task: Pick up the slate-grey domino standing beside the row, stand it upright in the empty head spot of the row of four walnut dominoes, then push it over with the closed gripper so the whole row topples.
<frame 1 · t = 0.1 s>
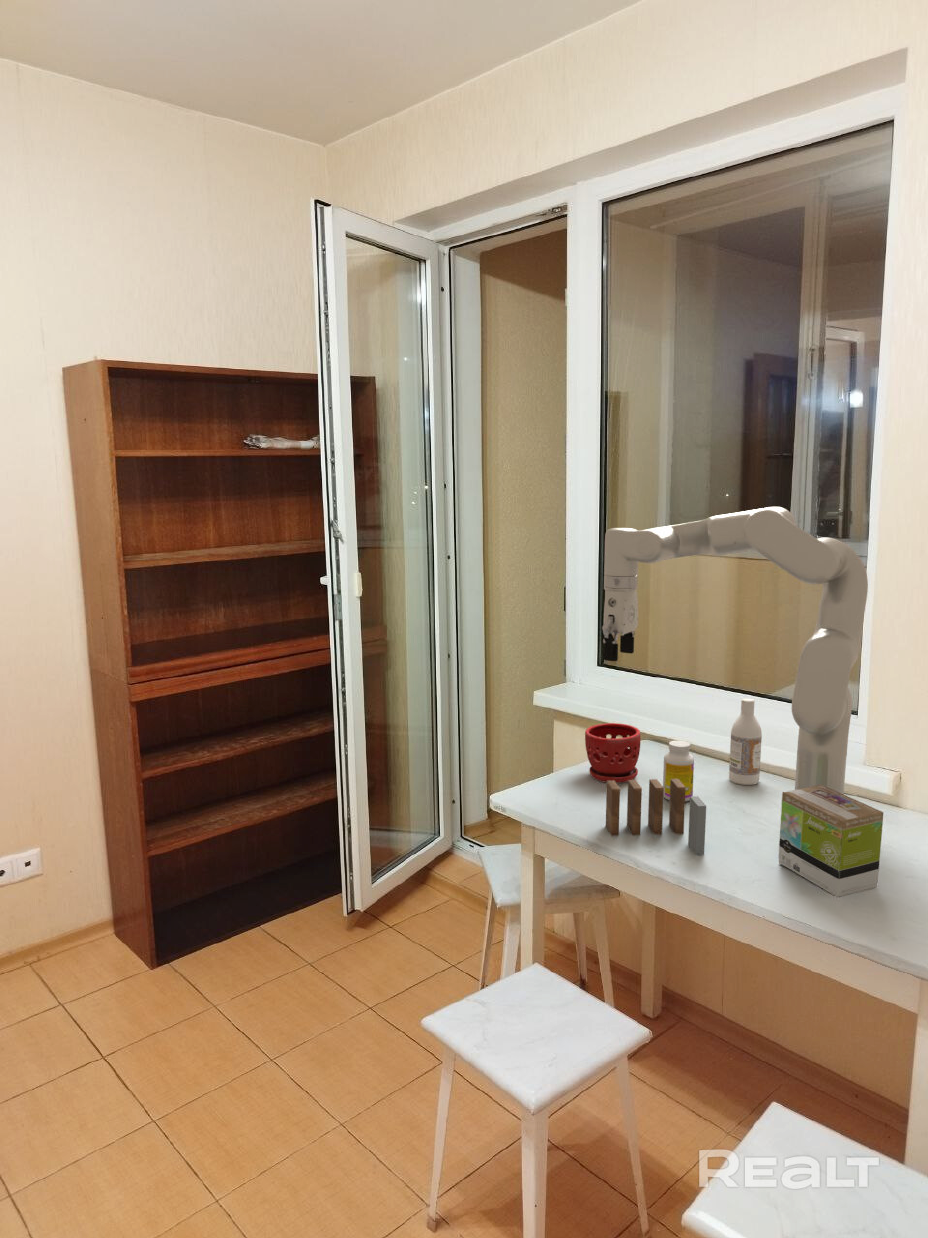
hand: (618, 656, 206), 31 cm above the table, tool pointing down, fingers open, 9 cm apart
supplement bottle: (677, 798, 203), on the table
domino 2: (676, 828, 186), on the table
domino 5: (612, 830, 185), on the table
domino 3: (654, 829, 186), on the table
head domino: (696, 849, 176), on the table
bath foam: (743, 781, 214), on the table
plant pot: (611, 778, 217), on the table
tea box: (826, 877, 165), on the table
domino 4: (633, 830, 186), on the table
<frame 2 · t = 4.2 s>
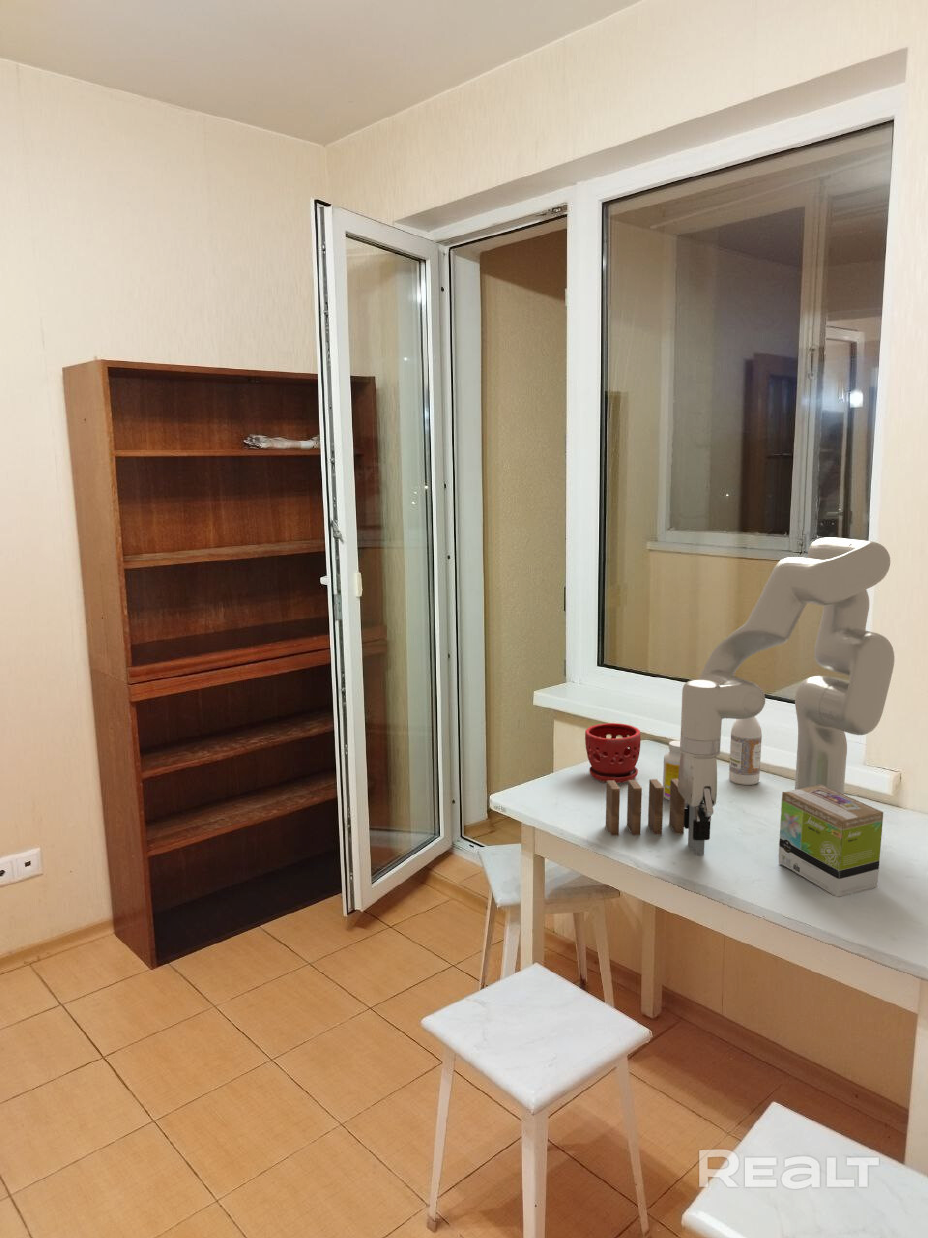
hand: (696, 832, 176), 3 cm above the table, tool pointing down, fingers closed on head domino, 4 cm apart
head domino: (695, 849, 176), on the table, touching gripper
everything else where it was.
when the fingers open (4 cm above the table, at t = 10.0 s): head domino stays where it is, on the table.
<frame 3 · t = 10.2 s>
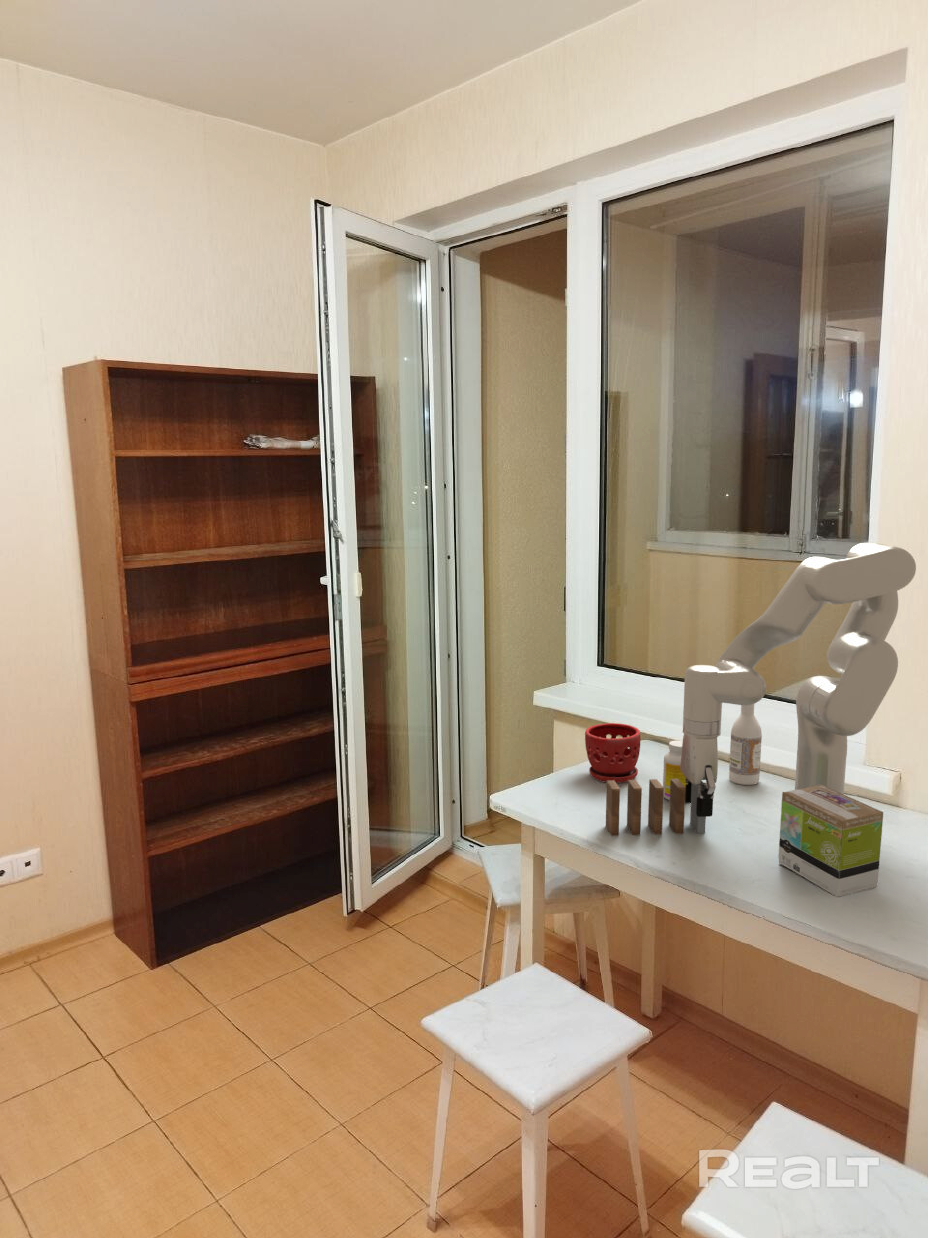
hand: (698, 808, 186), 4 cm above the table, tool pointing down, fingers open, 6 cm apart
head domino: (697, 828, 186), on the table
everything else where it was.
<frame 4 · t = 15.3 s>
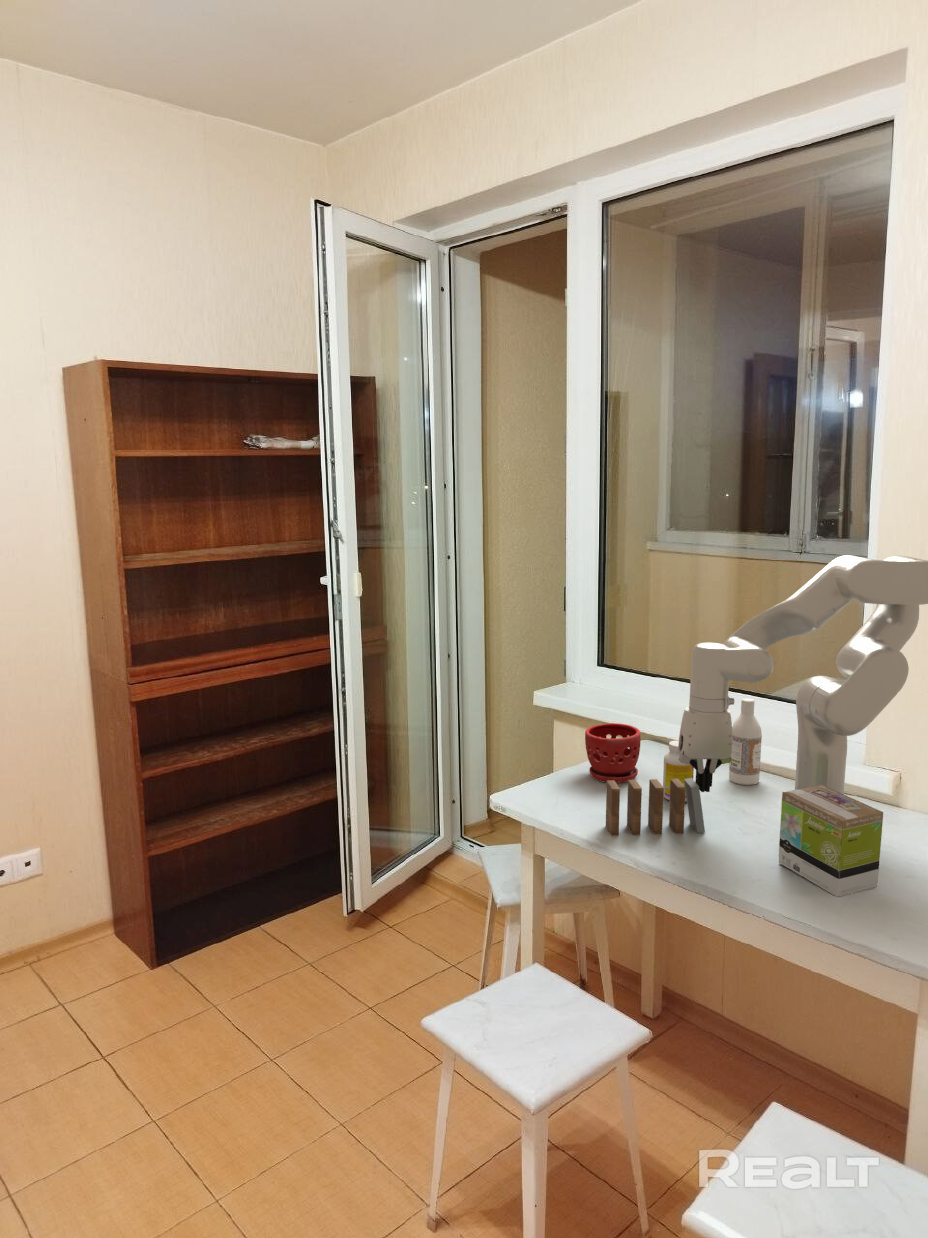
hand: (703, 789, 185), 8 cm above the table, tool pointing down, fingers closed
head domino: (697, 827, 186), on the table, tilted 9°
everything else where it was.
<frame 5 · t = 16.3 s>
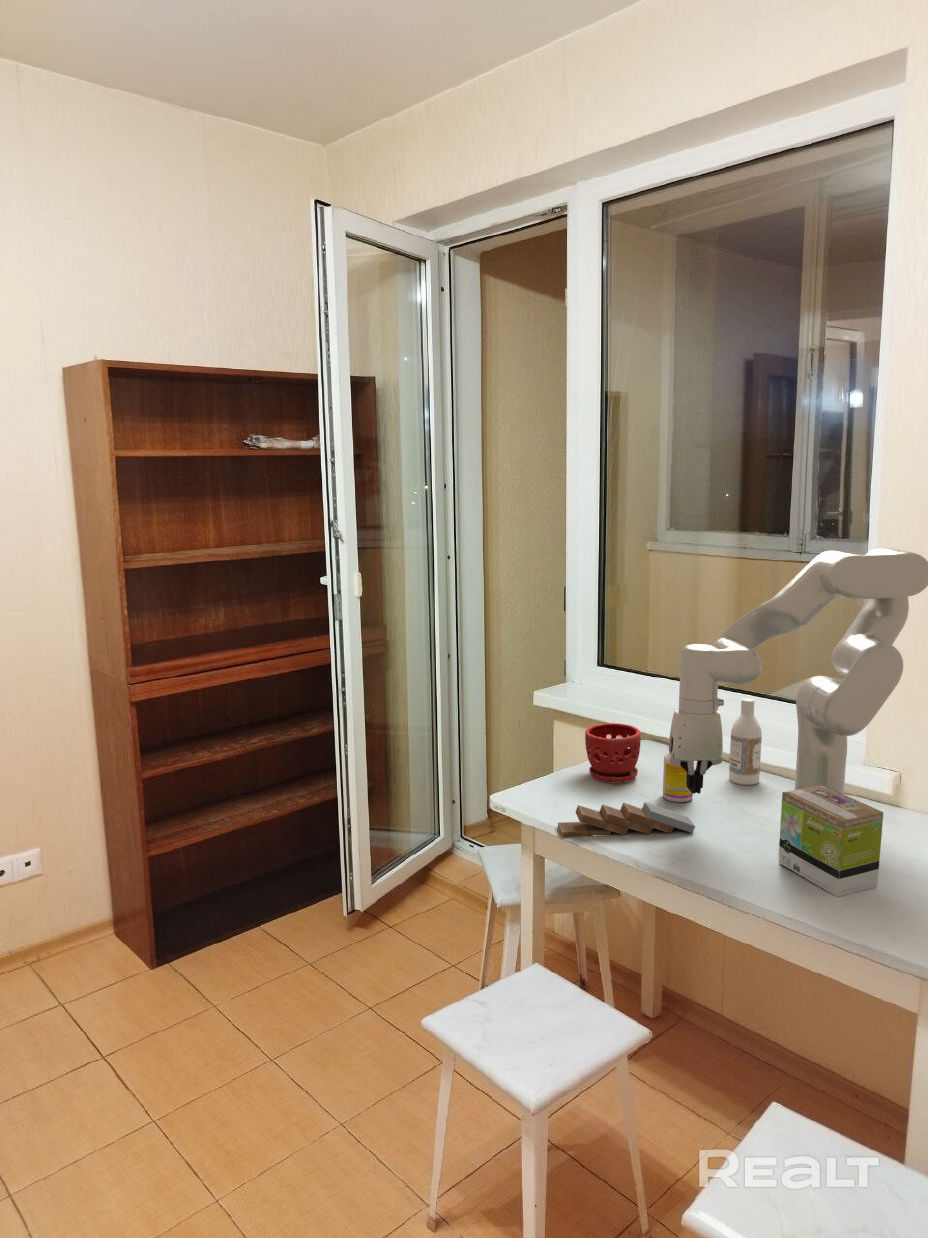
hand: (694, 791, 185), 8 cm above the table, tool pointing down, fingers closed
domino 2: (668, 825, 186), point 1 cm above the table, tilted 69°, touching domino 3, head domino
domino 5: (607, 829, 185), on the table, tilted 90°, touching domino 4
domino 3: (648, 826, 186), point 1 cm above the table, tilted 70°, touching domino 2
head domino: (690, 825, 186), point 1 cm above the table, tilted 69°, touching domino 2
domino 4: (623, 827, 185), point 1 cm above the table, tilted 71°, touching domino 5
everything else where it was.
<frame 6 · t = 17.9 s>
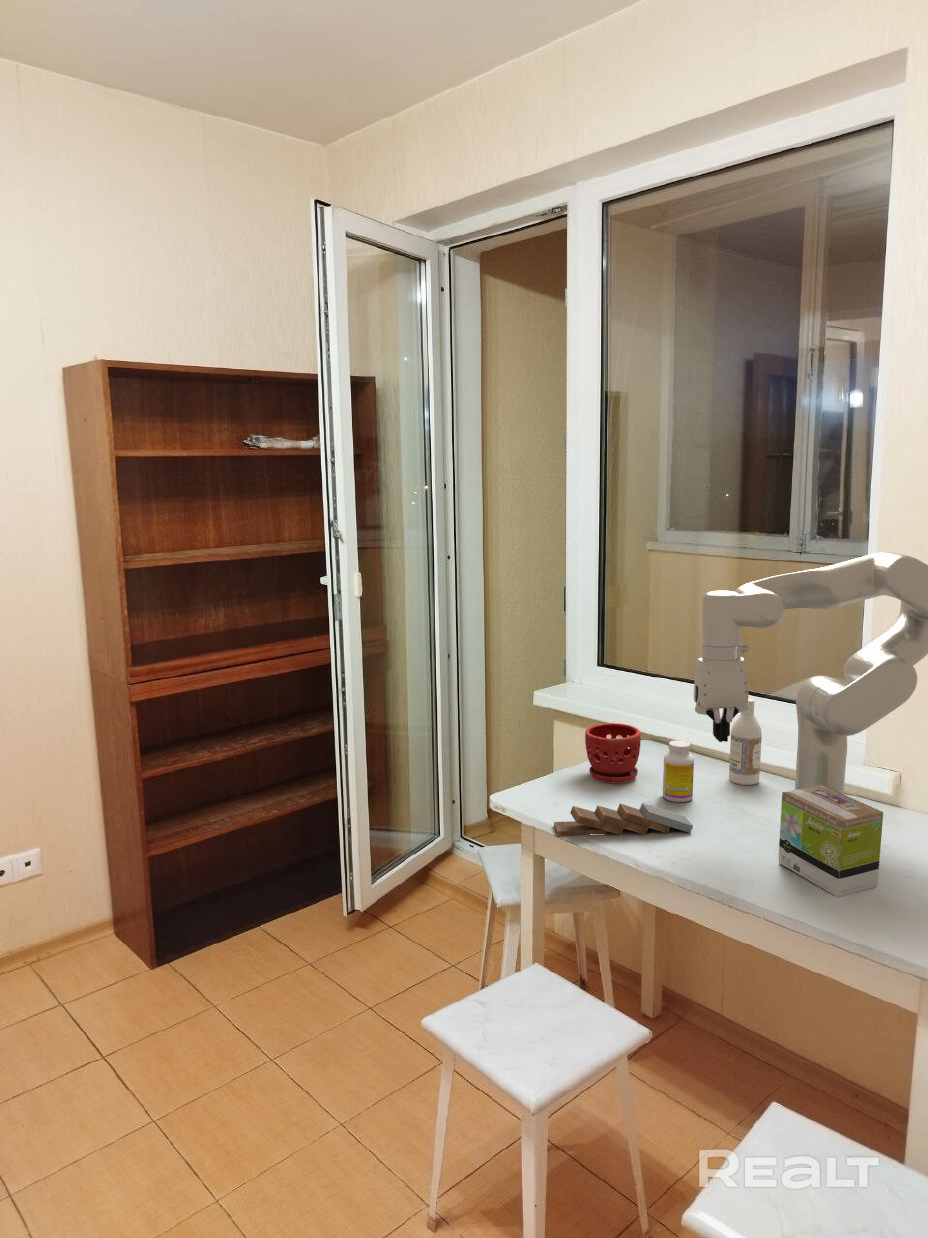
hand: (721, 739, 183), 19 cm above the table, tool pointing down, fingers closed
domino 5: (603, 829, 186), on the table, tilted 90°
domino 3: (643, 826, 186), point 1 cm above the table, tilted 71°, touching domino 2, domino 4
domino 4: (618, 826, 186), point 1 cm above the table, tilted 71°, touching domino 3
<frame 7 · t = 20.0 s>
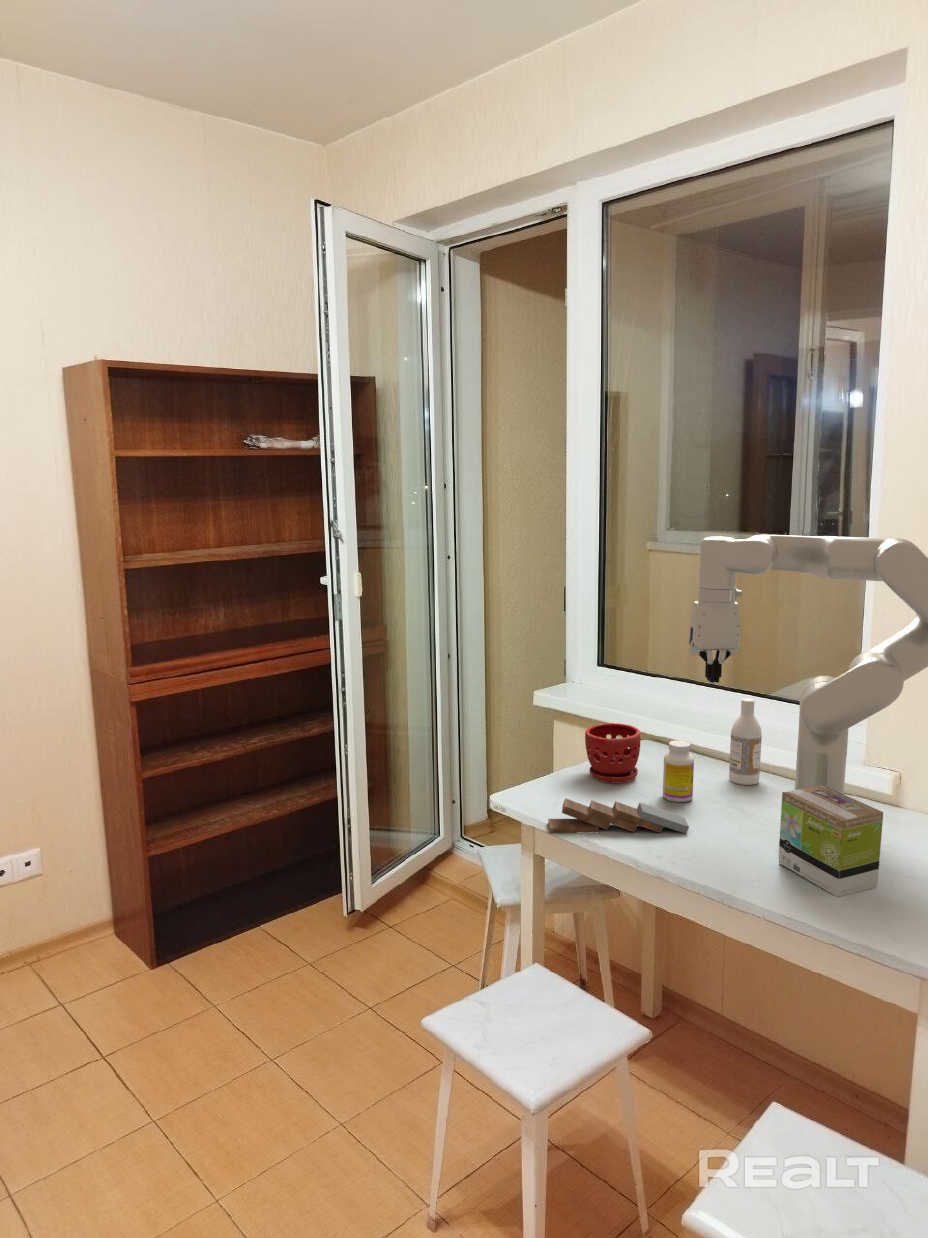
hand: (712, 681, 191), 29 cm above the table, tool pointing down, fingers closed
domino 2: (660, 825, 186), point 1 cm above the table, tilted 71°, touching domino 3, head domino
domino 5: (597, 827, 187), on the table, tilted 90°
domino 3: (635, 824, 186), point 1 cm above the table, tilted 72°, touching domino 2, domino 4
domino 4: (608, 822, 187), point 1 cm above the table, tilted 72°, touching domino 3
at the end: domino 5 tilted 90°; head domino tilted 71°; head domino inside the target area (2.0 cm from its centre), point 0.7 cm above the table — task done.
